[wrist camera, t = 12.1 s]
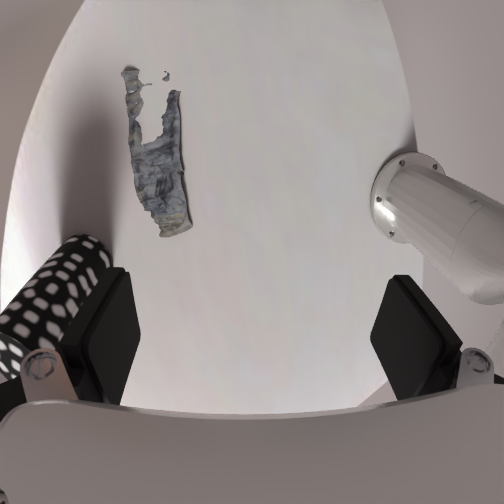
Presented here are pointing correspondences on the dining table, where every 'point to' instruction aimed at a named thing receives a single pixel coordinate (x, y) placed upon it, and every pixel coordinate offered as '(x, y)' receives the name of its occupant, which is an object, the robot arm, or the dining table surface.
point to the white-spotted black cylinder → (50, 301)
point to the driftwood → (157, 162)
